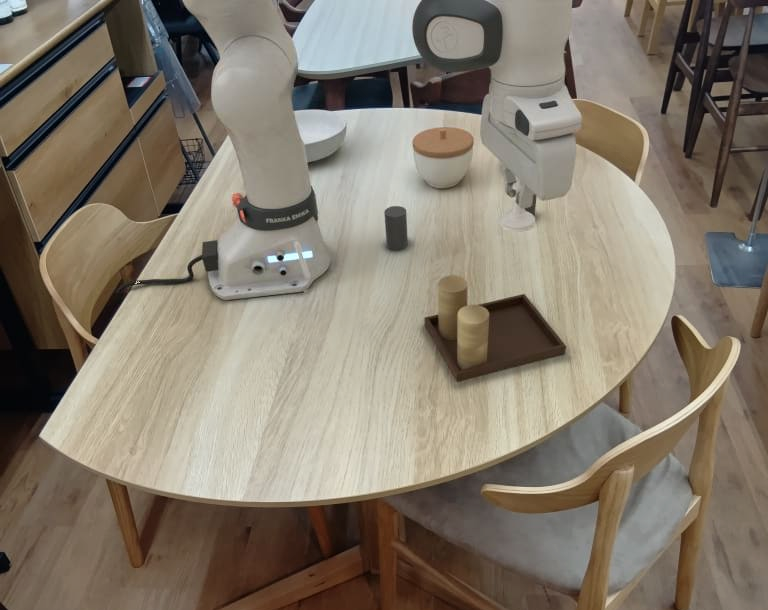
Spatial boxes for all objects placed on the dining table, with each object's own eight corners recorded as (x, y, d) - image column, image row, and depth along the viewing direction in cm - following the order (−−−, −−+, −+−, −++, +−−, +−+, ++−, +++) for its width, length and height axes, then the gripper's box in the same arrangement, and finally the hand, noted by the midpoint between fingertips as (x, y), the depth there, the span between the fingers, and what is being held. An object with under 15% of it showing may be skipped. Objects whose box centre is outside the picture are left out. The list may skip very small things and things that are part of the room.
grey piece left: (390, 252, 124) (387, 218, 119) (384, 241, 127) (381, 208, 122) (410, 247, 125) (409, 214, 120) (404, 237, 128) (402, 204, 123)
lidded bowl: (483, 184, 141) (485, 133, 134) (431, 200, 138) (430, 148, 130) (453, 162, 150) (453, 113, 142) (403, 176, 146) (401, 126, 139)
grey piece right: (519, 224, 128) (521, 190, 124) (510, 214, 131) (512, 181, 126) (538, 219, 129) (541, 186, 124) (528, 210, 132) (531, 177, 127)
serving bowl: (366, 144, 160) (363, 115, 155) (315, 181, 147) (311, 151, 143) (296, 130, 169) (292, 103, 164) (243, 164, 156) (237, 136, 151)
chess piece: (527, 235, 92) (532, 166, 85) (494, 227, 94) (497, 159, 87) (540, 218, 95) (547, 151, 88) (508, 211, 97) (512, 144, 90)
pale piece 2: (463, 375, 97) (464, 326, 91) (452, 357, 100) (452, 308, 94) (491, 368, 98) (494, 319, 92) (479, 350, 101) (481, 301, 95)
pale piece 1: (444, 342, 103) (443, 294, 97) (434, 326, 106) (433, 278, 100) (470, 336, 103) (472, 288, 97) (460, 320, 107) (461, 272, 100)
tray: (456, 385, 97) (456, 374, 95) (424, 328, 107) (424, 317, 105) (564, 357, 100) (566, 346, 98) (523, 305, 110) (524, 293, 108)
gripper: (470, 76, 90) (468, 173, 99) (539, 132, 75) (529, 240, 84) (513, 68, 91) (507, 165, 100) (590, 122, 76) (575, 230, 85)
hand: (518, 200), depth 92 cm, fingers closed on chess piece
